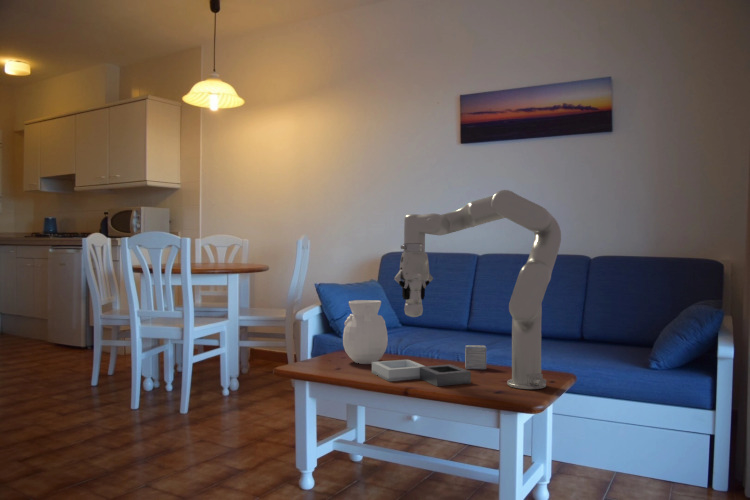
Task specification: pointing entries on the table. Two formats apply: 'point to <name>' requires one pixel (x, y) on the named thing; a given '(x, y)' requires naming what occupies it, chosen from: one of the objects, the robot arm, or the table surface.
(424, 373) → the dark grey storage bin
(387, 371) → the tray
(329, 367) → the table surface
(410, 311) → the plastic bottle
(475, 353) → the grey upright block
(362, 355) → the white vase
